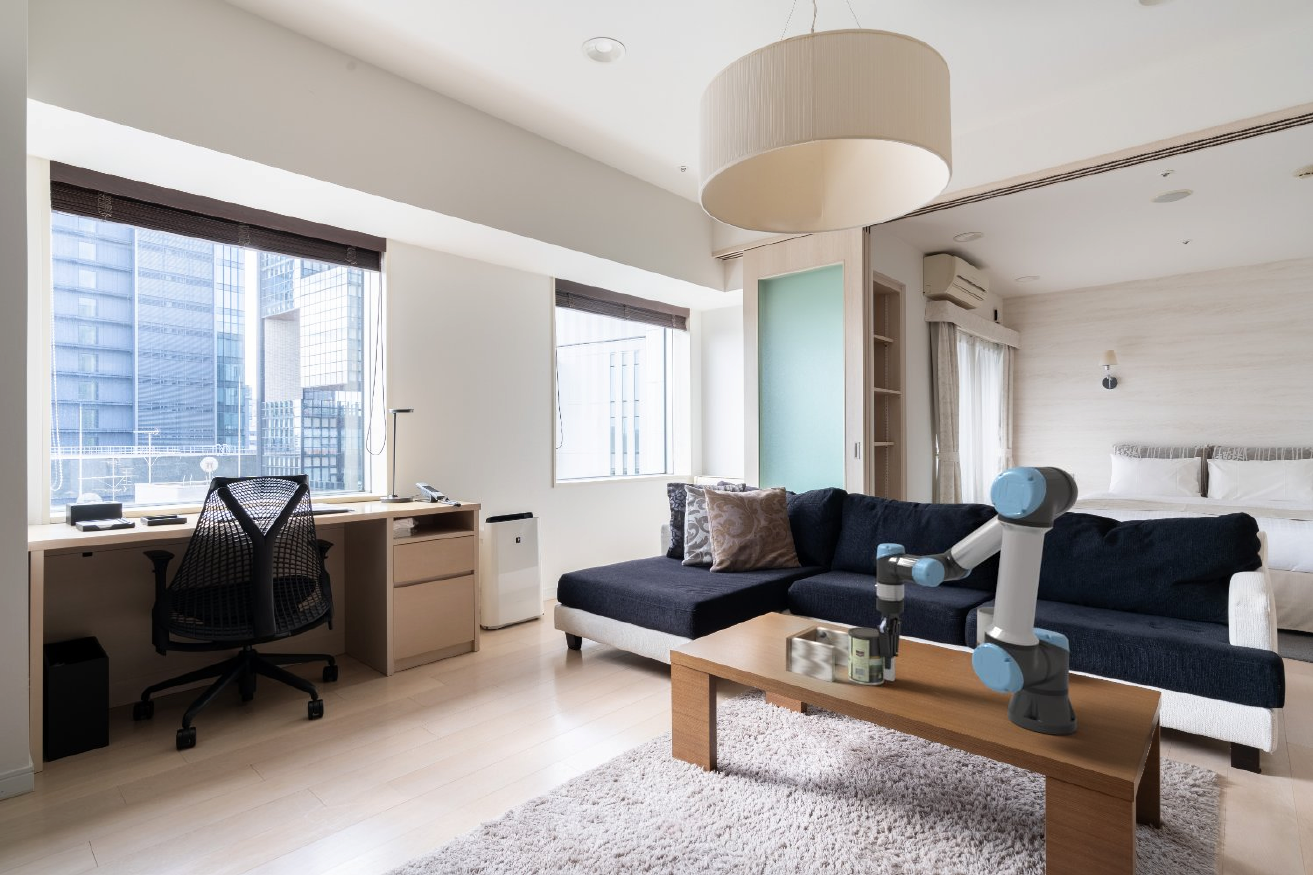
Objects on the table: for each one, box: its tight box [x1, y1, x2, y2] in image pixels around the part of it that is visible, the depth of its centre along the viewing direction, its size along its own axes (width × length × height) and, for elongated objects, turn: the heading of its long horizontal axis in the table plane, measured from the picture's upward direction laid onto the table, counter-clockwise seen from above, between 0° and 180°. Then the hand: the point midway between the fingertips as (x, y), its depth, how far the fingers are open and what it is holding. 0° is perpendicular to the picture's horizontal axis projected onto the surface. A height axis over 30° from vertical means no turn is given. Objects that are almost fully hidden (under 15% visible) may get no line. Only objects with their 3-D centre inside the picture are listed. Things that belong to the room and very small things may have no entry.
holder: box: [785, 625, 849, 683], centre depth 207 cm, size 15×18×10 cm
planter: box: [976, 606, 995, 648], centre depth 209 cm, size 13×13×18 cm
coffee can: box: [847, 626, 885, 686], centre depth 198 cm, size 10×10×14 cm
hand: (889, 679), depth 194 cm, fingers closed
